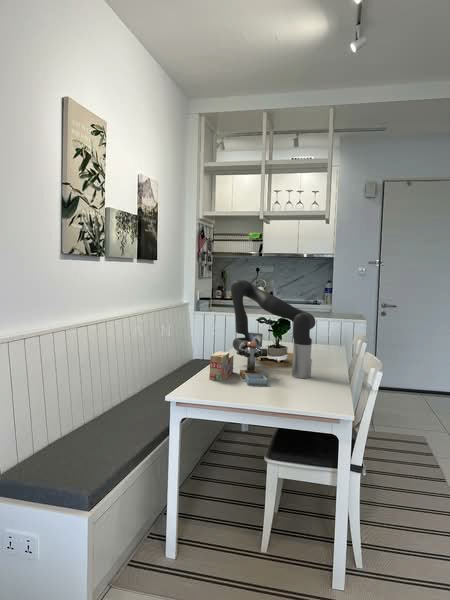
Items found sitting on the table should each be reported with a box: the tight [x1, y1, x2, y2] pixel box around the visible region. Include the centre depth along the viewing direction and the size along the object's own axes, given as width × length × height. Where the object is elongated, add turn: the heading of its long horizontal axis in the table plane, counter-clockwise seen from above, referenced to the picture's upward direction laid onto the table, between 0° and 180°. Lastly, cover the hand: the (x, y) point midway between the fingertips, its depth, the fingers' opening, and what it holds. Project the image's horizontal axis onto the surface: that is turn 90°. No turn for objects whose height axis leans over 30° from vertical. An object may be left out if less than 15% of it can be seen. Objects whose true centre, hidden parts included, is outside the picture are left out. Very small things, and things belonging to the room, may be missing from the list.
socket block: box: [239, 369, 262, 381], centre depth 240 cm, size 9×9×3 cm
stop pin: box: [246, 342, 257, 371], centre depth 239 cm, size 5×5×14 cm
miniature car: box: [257, 346, 269, 356], centre depth 287 cm, size 9×18×8 cm, turn 75°
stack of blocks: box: [208, 350, 234, 382], centre depth 241 cm, size 21×6×12 cm, turn 164°
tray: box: [244, 374, 268, 387], centre depth 230 cm, size 9×9×3 cm
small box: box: [249, 332, 263, 349], centre depth 324 cm, size 11×6×10 cm, turn 81°
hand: (252, 355), depth 236 cm, fingers closed on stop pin, 4 cm apart
